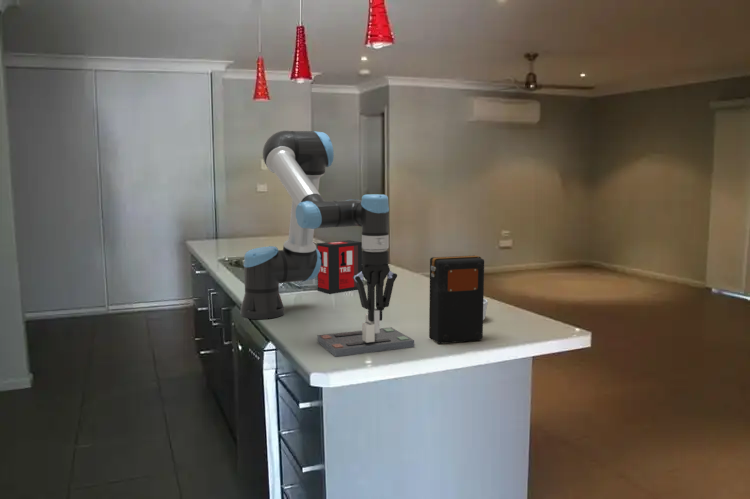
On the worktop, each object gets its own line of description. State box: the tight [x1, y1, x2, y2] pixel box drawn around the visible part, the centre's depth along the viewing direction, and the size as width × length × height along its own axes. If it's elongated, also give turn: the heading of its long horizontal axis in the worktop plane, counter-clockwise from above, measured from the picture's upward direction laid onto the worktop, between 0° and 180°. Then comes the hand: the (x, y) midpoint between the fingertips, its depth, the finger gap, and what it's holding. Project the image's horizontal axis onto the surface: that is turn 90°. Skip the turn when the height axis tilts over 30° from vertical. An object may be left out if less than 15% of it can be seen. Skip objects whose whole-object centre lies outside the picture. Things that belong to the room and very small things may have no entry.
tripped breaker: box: [361, 321, 375, 343], centre depth 179 cm, size 3×2×5 cm
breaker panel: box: [316, 326, 415, 358], centre depth 185 cm, size 16×24×2 cm, turn 113°
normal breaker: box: [364, 313, 370, 323], centre depth 190 cm, size 3×2×5 cm
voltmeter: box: [428, 254, 485, 344], centre depth 188 cm, size 16×9×25 cm, turn 107°
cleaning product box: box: [316, 239, 363, 295], centre depth 265 cm, size 16×9×20 cm, turn 129°
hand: (375, 332), depth 180 cm, fingers closed
